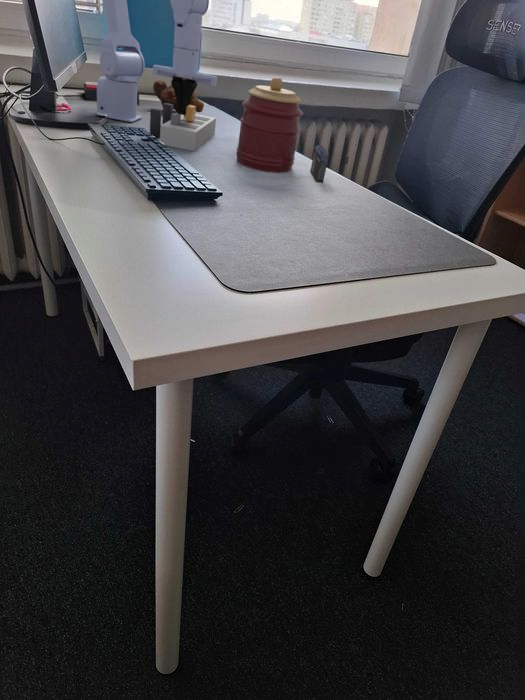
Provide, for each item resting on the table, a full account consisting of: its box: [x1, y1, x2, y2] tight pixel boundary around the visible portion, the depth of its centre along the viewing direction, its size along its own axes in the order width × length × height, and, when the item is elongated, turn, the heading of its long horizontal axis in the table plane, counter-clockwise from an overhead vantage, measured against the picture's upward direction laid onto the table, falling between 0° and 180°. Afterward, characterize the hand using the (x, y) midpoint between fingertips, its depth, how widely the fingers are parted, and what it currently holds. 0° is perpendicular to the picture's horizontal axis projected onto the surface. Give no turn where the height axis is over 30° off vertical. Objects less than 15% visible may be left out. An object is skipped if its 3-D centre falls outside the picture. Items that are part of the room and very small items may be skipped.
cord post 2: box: [161, 103, 174, 125], centre depth 127 cm, size 2×2×6 cm
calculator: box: [83, 81, 140, 106], centre depth 152 cm, size 11×4×15 cm
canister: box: [235, 76, 304, 173], centre depth 110 cm, size 13×13×18 cm
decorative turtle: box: [152, 80, 205, 114], centre depth 148 cm, size 10×15×8 cm, turn 88°
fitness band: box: [55, 103, 72, 111], centre depth 128 cm, size 8×6×2 cm
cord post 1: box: [149, 107, 162, 139], centre depth 118 cm, size 2×2×6 cm
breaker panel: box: [159, 112, 217, 152], centre depth 122 cm, size 8×22×6 cm, turn 172°
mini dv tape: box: [309, 144, 330, 184], centre depth 111 cm, size 8×2×6 cm, turn 4°
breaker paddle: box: [186, 105, 196, 121], centre depth 121 cm, size 2×3×3 cm, turn 172°
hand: (182, 114), depth 121 cm, fingers closed
